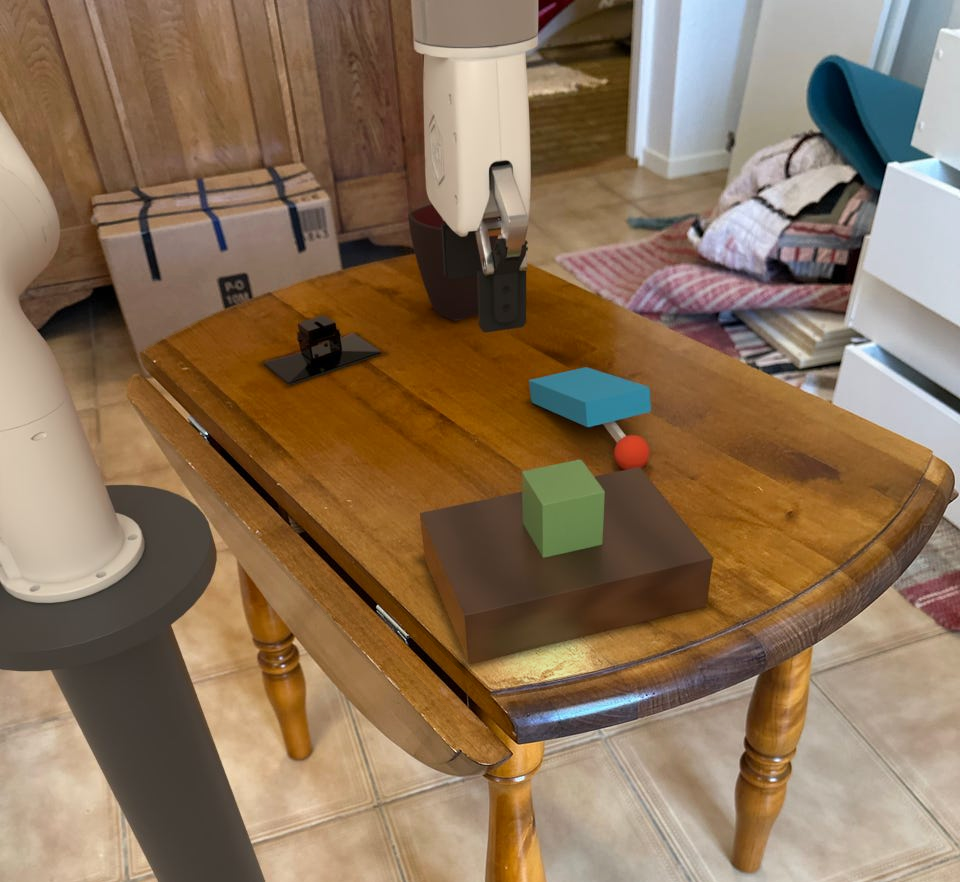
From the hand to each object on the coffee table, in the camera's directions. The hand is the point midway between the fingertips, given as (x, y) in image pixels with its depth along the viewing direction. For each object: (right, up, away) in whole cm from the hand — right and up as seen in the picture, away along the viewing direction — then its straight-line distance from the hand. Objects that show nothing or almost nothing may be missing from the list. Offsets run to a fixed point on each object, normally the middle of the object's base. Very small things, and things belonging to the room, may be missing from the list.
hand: (483, 300), depth 67 cm
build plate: (-19, +9, +45) cm, 50 cm away
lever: (+12, -3, +29) cm, 32 cm away
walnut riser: (+6, -20, +11) cm, 24 cm away
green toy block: (+6, -16, +8) cm, 19 cm away
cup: (-1, +19, +55) cm, 58 cm away
